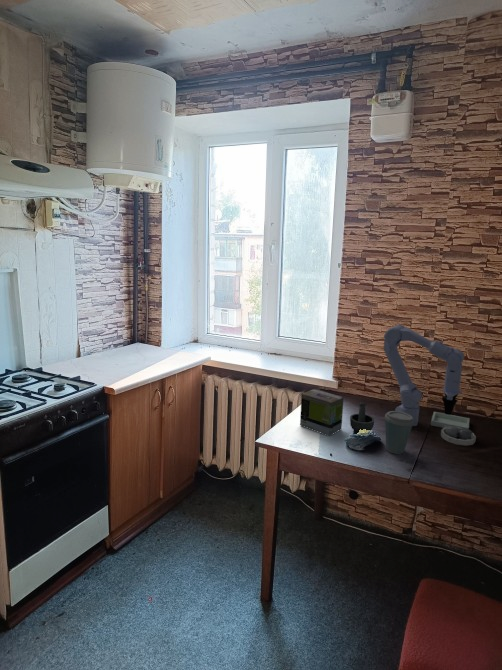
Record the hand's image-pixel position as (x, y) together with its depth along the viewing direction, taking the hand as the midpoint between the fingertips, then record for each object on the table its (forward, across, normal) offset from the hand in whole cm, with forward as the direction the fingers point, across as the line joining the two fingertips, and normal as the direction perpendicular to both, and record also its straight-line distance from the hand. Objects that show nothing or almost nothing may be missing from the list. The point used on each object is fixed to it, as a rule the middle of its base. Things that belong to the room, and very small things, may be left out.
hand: (448, 411), depth 183 cm
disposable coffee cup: (+10, -25, +16) cm, 32 cm away
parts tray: (+10, +10, -1) cm, 15 cm away
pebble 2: (+10, -4, -7) cm, 13 cm away
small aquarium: (+10, -20, +48) cm, 53 cm away
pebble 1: (+10, -4, -2) cm, 10 cm away
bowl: (+10, -4, -5) cm, 12 cm away
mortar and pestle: (+10, -17, +31) cm, 37 cm away
